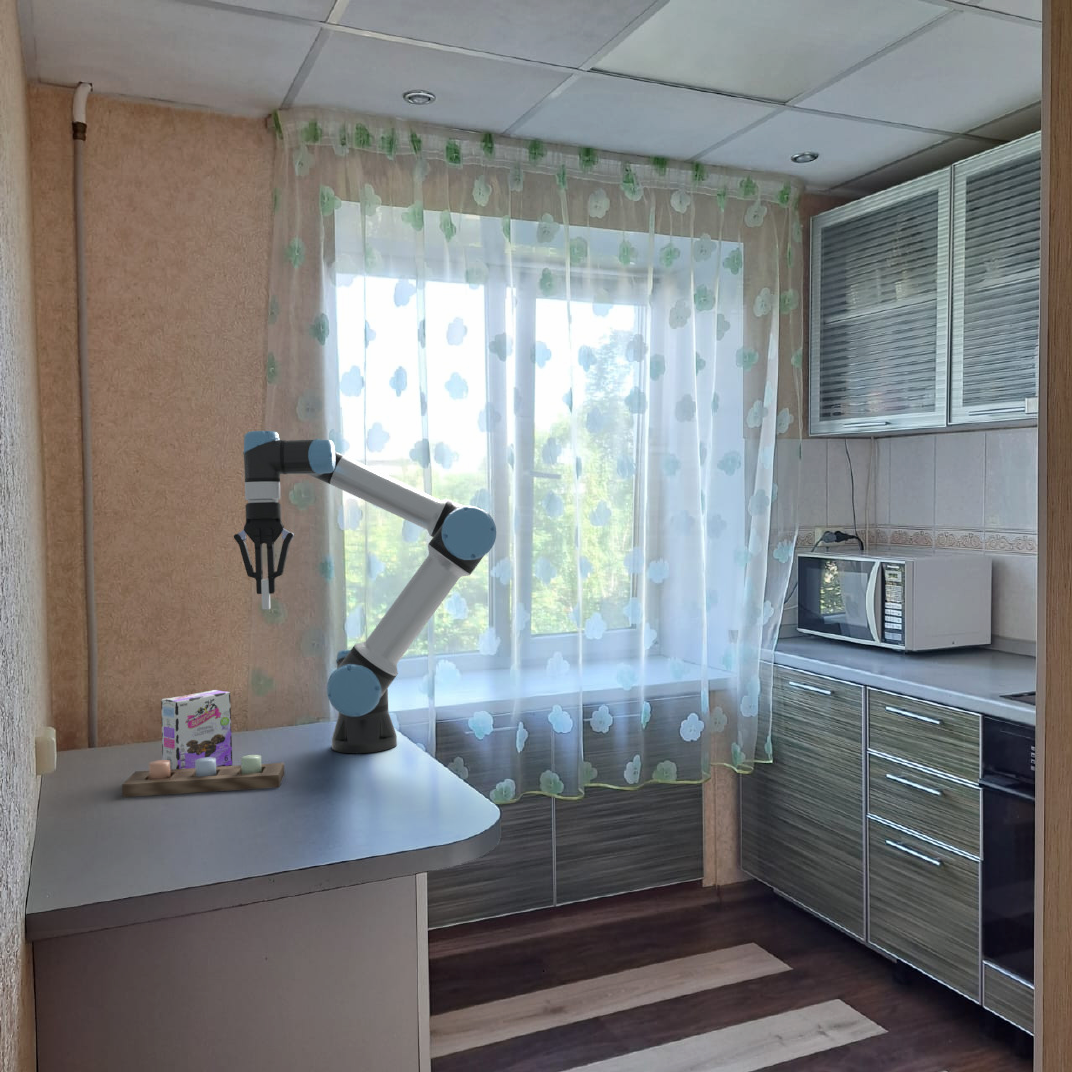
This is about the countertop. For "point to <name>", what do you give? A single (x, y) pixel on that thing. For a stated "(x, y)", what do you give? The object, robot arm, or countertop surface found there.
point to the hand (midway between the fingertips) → (266, 608)
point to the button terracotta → (159, 769)
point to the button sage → (251, 764)
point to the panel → (203, 781)
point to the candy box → (197, 729)
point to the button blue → (205, 766)
